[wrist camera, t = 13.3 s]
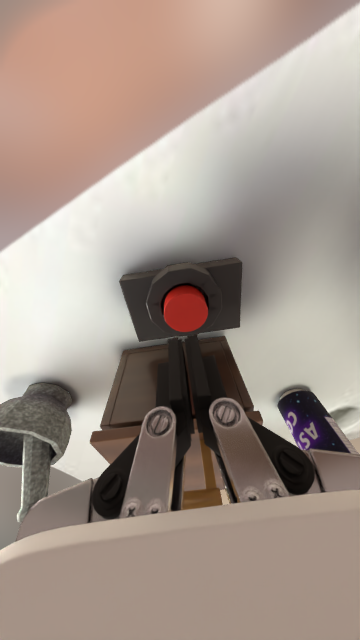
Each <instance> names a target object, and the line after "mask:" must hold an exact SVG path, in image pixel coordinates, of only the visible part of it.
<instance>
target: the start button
mask: <svg viewBox="0 0 360 640" xmlns="http://www.w3.org/2000/svg"><path fill="white" fill-rule="evenodd" d="M207 316H208V308H207V305H206V302H205V299H204V296H203V294H202V293H201V292H200V291H199V290H198V289H197V288H195V287H192V286H188V285H183V286H178V287H176V288H174V289H172V290H171V291H170V292H169V293H168V294H167V296H166V298H165V301H164V318H165V321H166V323H167V324H168V325H169V326H170V327H171V328H173V329H174V330H177V331H180V332H189V331H193V330H196V329H198V328H199V327H201V326H202V325H203V324H204V322H205V321H206V319H207Z"/></svg>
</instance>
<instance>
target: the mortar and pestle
mask: <svg viewBox="0 0 360 640" xmlns="http://www.w3.org/2000/svg"><path fill="white" fill-rule="evenodd" d="M71 403H72V399H71V396H70V393H69V392H67V391H66V390H64V389H63V388H61V387H59V386H58V385H53V384H48V383H38V384H34V385H30V386H29V387H28V389H27V390H26V392H25V393H24V395H23V396H22V397H18V398H14V399H10V400H8V401H6V402H4V403H2V404H0V464H1V465H4V466H11V467H22V495H21V497H22V498H21V508H20V511H19V512H18V514H17V521H18V522H22V521H23V518H24V517H25V515H26V514H27V512H28V511H29V509H30V508H31V507H32V506H33V505H34V504H35V503H36V502H38V501H39V500H41V499H43V498H45V497H47V495H48V484H49V474H50V465H54V464H55V463H56V462H57V461H58V460H59V459H60V458H61V457H62V456H63V455H64V452H65V450H66V448H67V445H68V443H69V439H70V435H71V431H72V430H71V419H70V417H69V415H68V412H67V409H68V407H69V406H70V404H71Z"/></svg>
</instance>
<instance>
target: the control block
mask: <svg viewBox="0 0 360 640" xmlns="http://www.w3.org/2000/svg"><path fill="white" fill-rule="evenodd" d="M241 279H242V262H241V261H240V260H239V259H237V258H230V259H224V260H217V261H211V262H204V263H198V264H192V263H190V262H189V263H188V262H187V263H180V264H174V265H168V266H167V267H166V268H165V269H159V270H153V271H147V272H140V273H134V274H127V275H123V276H122V278H121V279H120V281H119V283H120V286H121V289H122V292H123V295H124V298H125V301H126V304H127V307H128V310H129V313H130V316H131V319H132V322H133V325H134V328H135V331H136V334H137V337H138V340H139V342H140V341H147V340H154V339H161V338H168V337H175V336H179V337H180V336H188V335H195V334H199V333H204V332H211V331H218V330H225V329H232V328H239V327H240V307H241ZM183 285H188V286H192V287H195V288H197V289H198V290H199V291H200V292H201V293H202V294H203V296H204V299H205V302H206V305H207V308H208V316H207V319H206V321H205V322H204V324H203V325H202V326H201V327H199V328H198V329H196V330H193V331H189V332H180V331H177V330H174V329H173V328H171V327H170V326H169V325H168V324H167V323H166V321H165V318H164V301H165V298H166V296H167V294H168V293H169V292H170V291H171V290H172V289H174V288H176V287H178V286H183Z"/></svg>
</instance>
